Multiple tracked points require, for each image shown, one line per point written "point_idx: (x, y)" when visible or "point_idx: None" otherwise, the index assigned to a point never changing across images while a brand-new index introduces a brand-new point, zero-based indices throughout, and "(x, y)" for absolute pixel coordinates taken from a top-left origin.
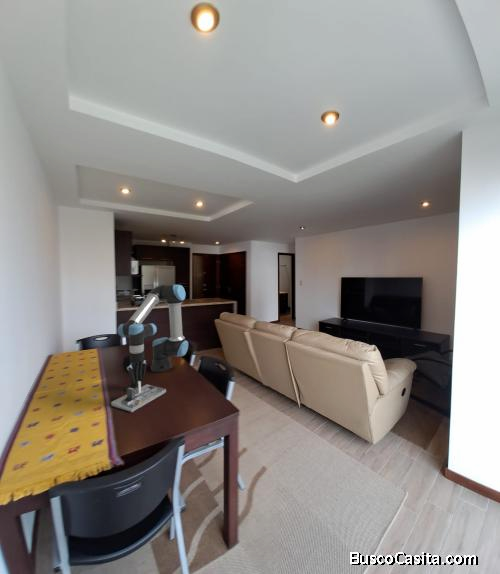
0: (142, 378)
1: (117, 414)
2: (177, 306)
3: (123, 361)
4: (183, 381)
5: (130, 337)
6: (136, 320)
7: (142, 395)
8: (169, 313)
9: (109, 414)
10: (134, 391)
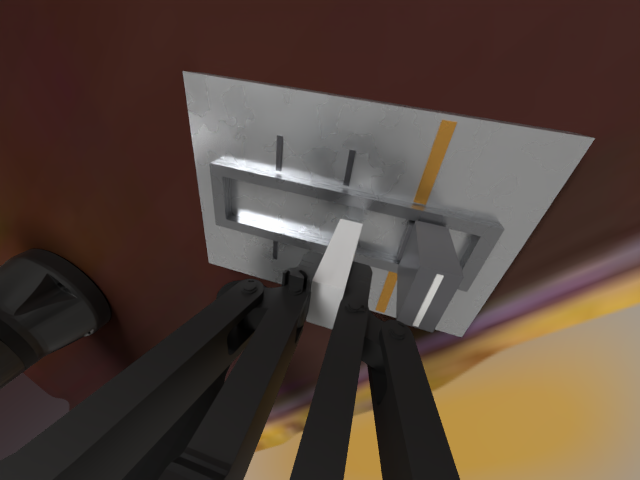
0: (267, 290)
1: (596, 226)
2: None
3: None
4: (31, 51)
5: None
6: None
7: (351, 192)
8: None
9: (585, 277)
10: (423, 250)
